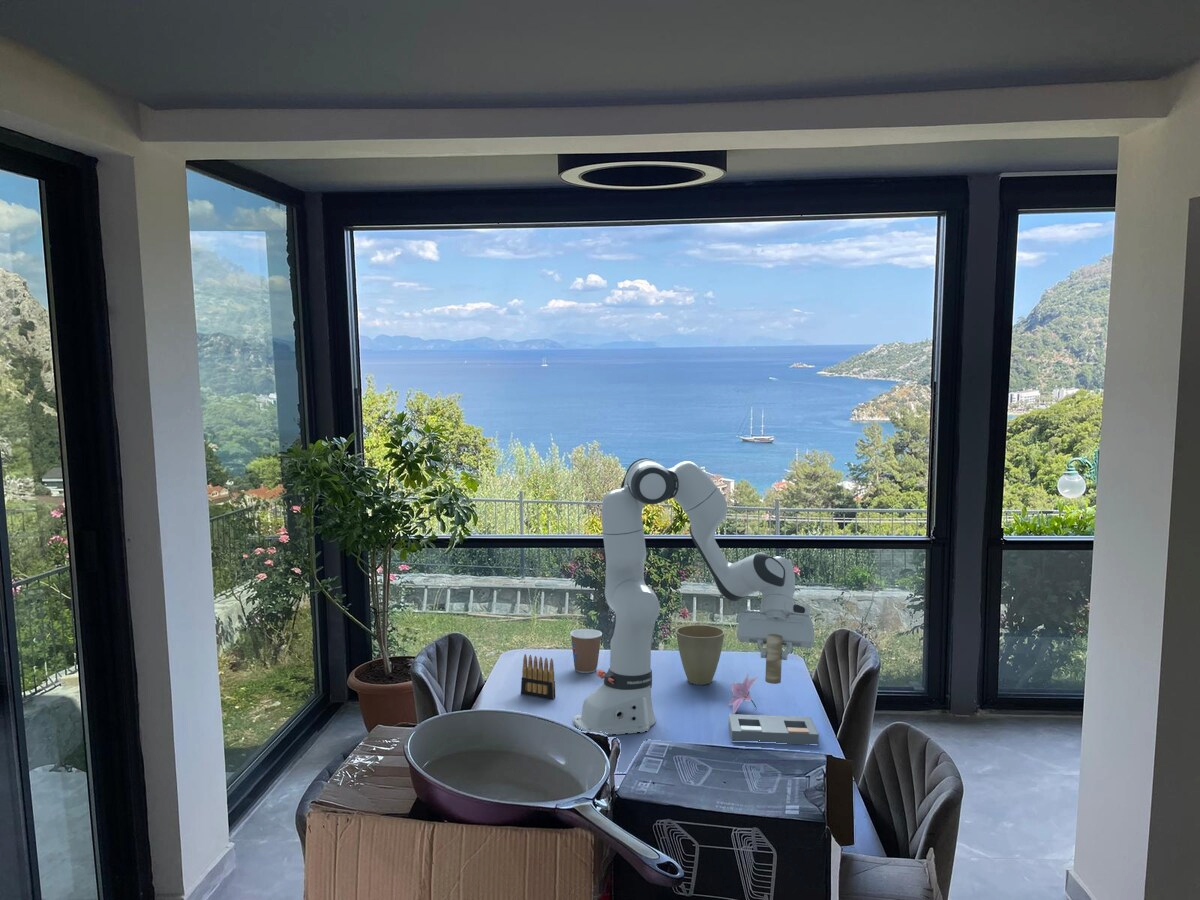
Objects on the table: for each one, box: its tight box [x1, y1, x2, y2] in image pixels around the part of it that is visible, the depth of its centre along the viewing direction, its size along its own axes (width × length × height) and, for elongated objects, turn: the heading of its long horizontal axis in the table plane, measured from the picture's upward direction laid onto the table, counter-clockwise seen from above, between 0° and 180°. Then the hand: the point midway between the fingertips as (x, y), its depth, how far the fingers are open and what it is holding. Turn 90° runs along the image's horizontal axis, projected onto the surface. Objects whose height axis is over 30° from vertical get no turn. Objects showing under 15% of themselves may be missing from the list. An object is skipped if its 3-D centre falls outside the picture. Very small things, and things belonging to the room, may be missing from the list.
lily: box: [727, 673, 758, 714], centre depth 254 cm, size 12×12×10 cm
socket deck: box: [728, 713, 820, 746], centre depth 234 cm, size 22×12×3 cm, turn 86°
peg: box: [764, 634, 783, 685], centre depth 233 cm, size 4×4×12 cm
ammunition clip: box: [520, 653, 556, 701], centre depth 262 cm, size 11×2×12 cm, turn 65°
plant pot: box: [675, 624, 725, 686], centre depth 277 cm, size 15×15×16 cm
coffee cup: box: [569, 628, 603, 674], centre depth 287 cm, size 10×10×12 cm
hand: (773, 658), depth 232 cm, fingers closed on peg, 4 cm apart
